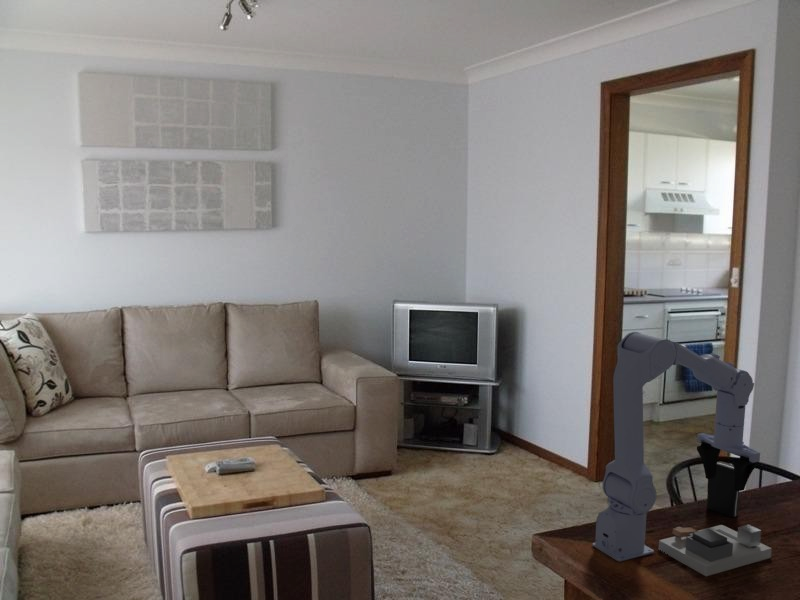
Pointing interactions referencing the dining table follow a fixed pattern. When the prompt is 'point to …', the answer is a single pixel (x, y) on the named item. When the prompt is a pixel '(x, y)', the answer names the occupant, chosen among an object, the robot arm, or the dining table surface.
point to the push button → (709, 538)
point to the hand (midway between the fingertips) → (724, 484)
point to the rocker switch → (683, 531)
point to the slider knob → (749, 535)
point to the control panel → (713, 552)
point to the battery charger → (723, 491)
